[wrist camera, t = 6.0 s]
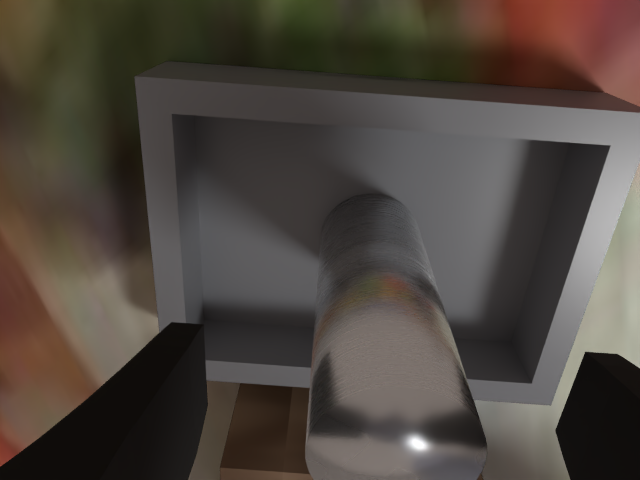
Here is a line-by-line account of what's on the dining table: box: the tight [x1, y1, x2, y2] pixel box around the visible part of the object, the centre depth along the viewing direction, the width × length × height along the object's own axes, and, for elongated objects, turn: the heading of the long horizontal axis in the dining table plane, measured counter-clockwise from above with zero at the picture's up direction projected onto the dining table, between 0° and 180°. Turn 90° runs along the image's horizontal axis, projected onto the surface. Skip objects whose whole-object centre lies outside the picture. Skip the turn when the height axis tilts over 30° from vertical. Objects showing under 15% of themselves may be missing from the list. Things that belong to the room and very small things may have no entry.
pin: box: [305, 193, 487, 480], centre depth 12 cm, size 3×3×8 cm
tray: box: [134, 61, 640, 405], centre depth 15 cm, size 12×9×2 cm
